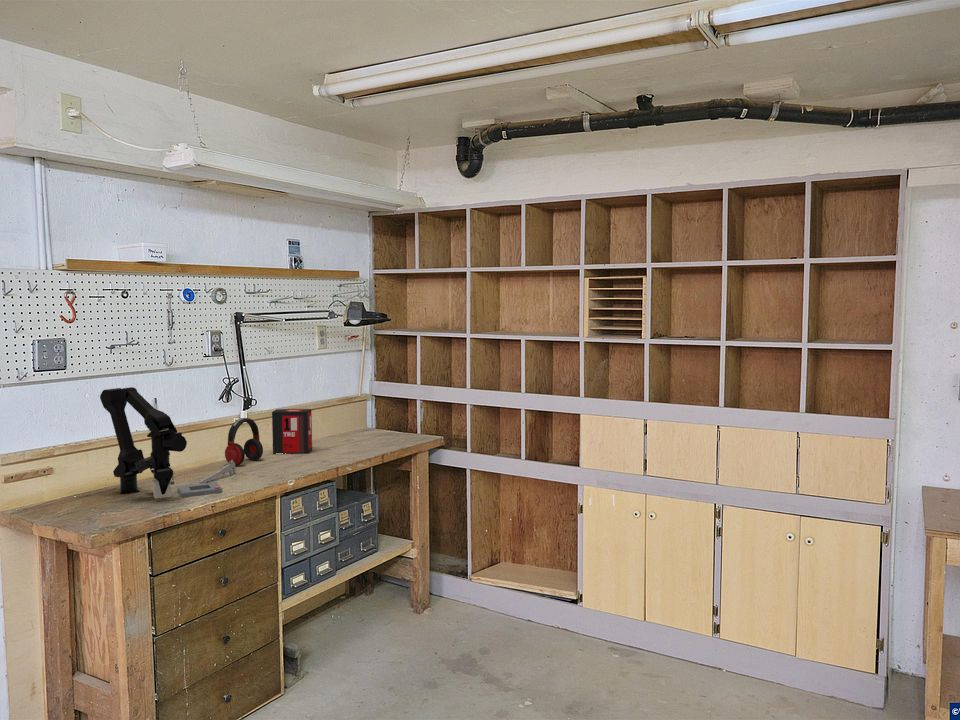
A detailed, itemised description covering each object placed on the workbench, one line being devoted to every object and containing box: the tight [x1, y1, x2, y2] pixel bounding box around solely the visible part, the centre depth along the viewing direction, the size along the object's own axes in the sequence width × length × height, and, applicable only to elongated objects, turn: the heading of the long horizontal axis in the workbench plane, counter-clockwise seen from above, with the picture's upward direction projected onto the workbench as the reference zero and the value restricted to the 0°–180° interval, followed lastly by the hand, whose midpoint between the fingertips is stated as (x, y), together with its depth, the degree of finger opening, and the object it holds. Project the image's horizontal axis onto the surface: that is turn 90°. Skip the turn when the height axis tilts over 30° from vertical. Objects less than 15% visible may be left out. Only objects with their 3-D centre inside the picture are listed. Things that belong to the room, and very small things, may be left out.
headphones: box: [224, 417, 264, 467], centre depth 320 cm, size 18×10×20 cm, turn 157°
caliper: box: [197, 460, 237, 484], centre depth 290 cm, size 20×1×6 cm, turn 157°
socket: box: [177, 481, 223, 499], centre depth 271 cm, size 12×14×2 cm
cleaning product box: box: [271, 408, 313, 455], centre depth 343 cm, size 16×9×20 cm, turn 92°
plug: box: [152, 478, 175, 499], centre depth 264 cm, size 4×7×6 cm, turn 120°
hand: (161, 491), depth 264 cm, fingers open, 8 cm apart
